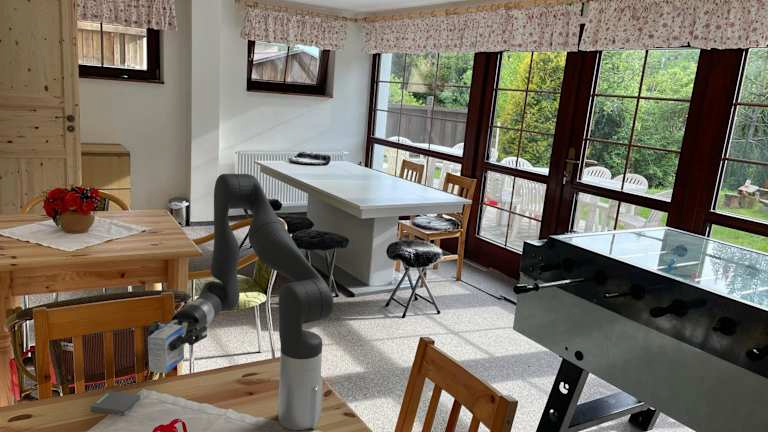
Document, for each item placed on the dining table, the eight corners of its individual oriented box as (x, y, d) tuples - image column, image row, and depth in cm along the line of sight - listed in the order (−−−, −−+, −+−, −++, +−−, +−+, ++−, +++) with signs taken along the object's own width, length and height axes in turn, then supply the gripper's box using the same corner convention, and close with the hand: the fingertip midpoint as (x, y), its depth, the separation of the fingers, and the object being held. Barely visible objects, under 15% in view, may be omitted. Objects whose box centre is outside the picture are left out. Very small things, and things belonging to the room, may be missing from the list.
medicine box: (166, 374, 134) (165, 338, 132) (148, 371, 135) (147, 336, 133) (184, 359, 142) (184, 325, 140) (167, 356, 142) (166, 322, 141)
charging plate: (140, 399, 140) (140, 394, 140) (124, 415, 133) (123, 410, 133) (108, 395, 141) (108, 390, 141) (90, 410, 134) (90, 405, 134)
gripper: (166, 300, 151) (129, 327, 134) (220, 306, 149) (190, 334, 133) (167, 328, 152) (131, 357, 136) (220, 334, 151) (190, 365, 134)
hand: (160, 345), depth 134 cm, fingers closed on medicine box, 4 cm apart
